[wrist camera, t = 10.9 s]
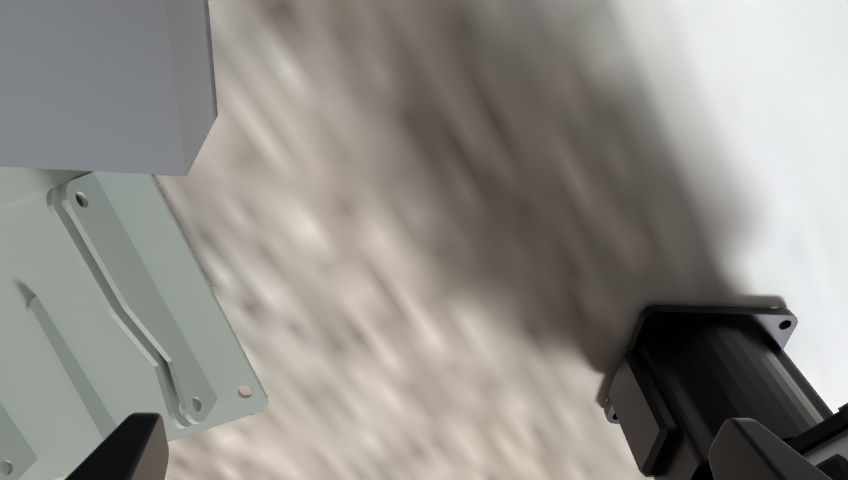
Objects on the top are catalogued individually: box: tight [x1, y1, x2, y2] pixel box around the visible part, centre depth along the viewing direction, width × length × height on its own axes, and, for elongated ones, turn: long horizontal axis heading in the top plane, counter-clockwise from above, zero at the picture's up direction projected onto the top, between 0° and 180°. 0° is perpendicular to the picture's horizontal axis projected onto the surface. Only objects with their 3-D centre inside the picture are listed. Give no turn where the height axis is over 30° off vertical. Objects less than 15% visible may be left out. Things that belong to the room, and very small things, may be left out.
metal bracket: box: [0, 166, 269, 480], centre depth 22 cm, size 14×6×15 cm
